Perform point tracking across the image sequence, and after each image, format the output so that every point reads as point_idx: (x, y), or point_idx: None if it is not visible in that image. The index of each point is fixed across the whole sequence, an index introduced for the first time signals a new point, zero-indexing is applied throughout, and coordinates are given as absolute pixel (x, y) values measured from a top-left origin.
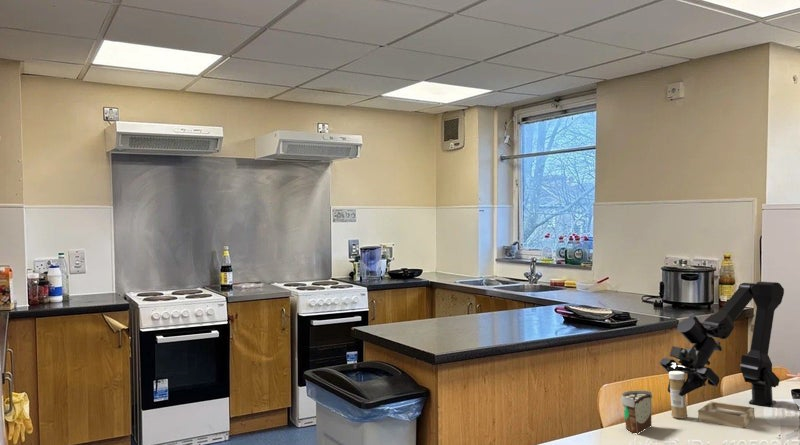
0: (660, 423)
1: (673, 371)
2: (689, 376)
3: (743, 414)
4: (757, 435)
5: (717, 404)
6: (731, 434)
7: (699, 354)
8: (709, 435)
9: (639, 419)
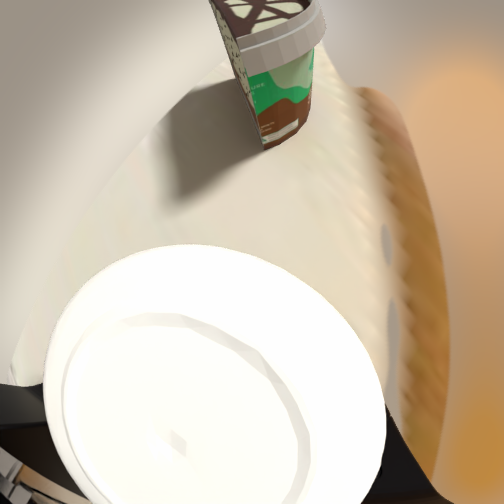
0: (271, 205)
1: (293, 478)
2: (21, 401)
3: None
4: (31, 352)
5: None
6: (59, 307)
7: None
8: (89, 242)
9: (231, 56)
